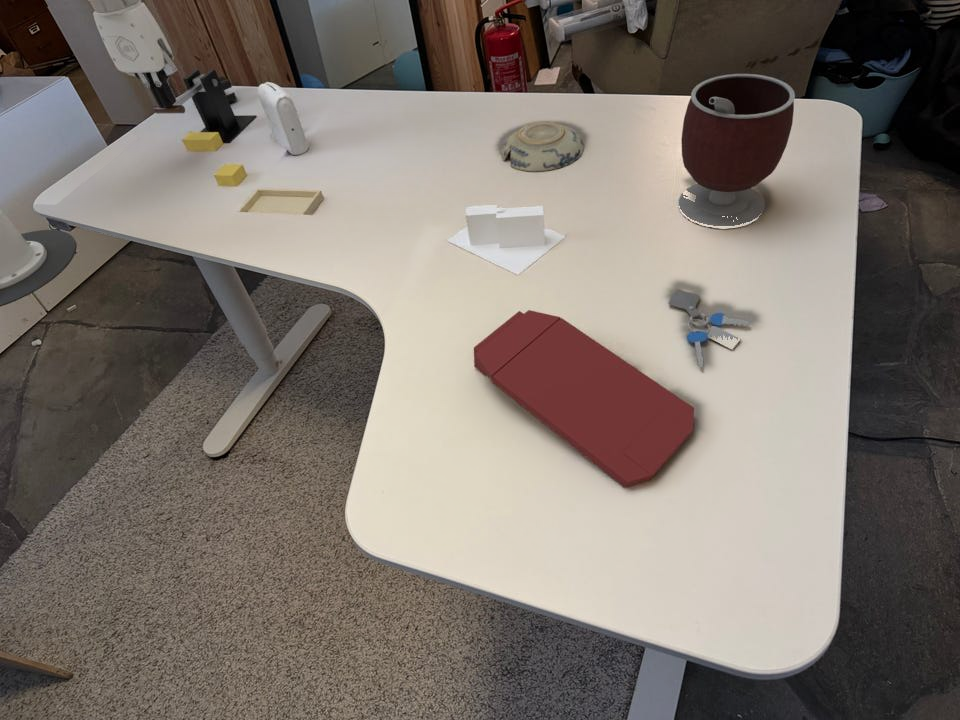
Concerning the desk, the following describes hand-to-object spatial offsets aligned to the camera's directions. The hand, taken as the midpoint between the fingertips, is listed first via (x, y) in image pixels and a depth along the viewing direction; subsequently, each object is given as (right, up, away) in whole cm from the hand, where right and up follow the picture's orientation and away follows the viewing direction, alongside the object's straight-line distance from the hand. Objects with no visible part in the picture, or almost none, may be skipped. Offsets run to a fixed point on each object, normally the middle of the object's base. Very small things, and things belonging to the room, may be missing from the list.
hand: (168, 104), depth 116 cm
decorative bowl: (+71, -11, -5) cm, 72 cm away
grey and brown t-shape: (+2, +3, +5) cm, 6 cm away
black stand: (+4, 0, +16) cm, 17 cm away
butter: (+2, -5, +11) cm, 13 cm away
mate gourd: (+96, -26, -24) cm, 102 cm away
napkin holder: (+64, -30, -23) cm, 74 cm away
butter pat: (+13, -15, 0) cm, 20 cm away
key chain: (+89, -45, -40) cm, 107 cm away
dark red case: (+71, -54, -46) cm, 100 cm away
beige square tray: (+24, -24, -10) cm, 35 cm away
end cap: (-2, +11, +27) cm, 29 cm away
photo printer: (+21, -5, +8) cm, 23 cm away
